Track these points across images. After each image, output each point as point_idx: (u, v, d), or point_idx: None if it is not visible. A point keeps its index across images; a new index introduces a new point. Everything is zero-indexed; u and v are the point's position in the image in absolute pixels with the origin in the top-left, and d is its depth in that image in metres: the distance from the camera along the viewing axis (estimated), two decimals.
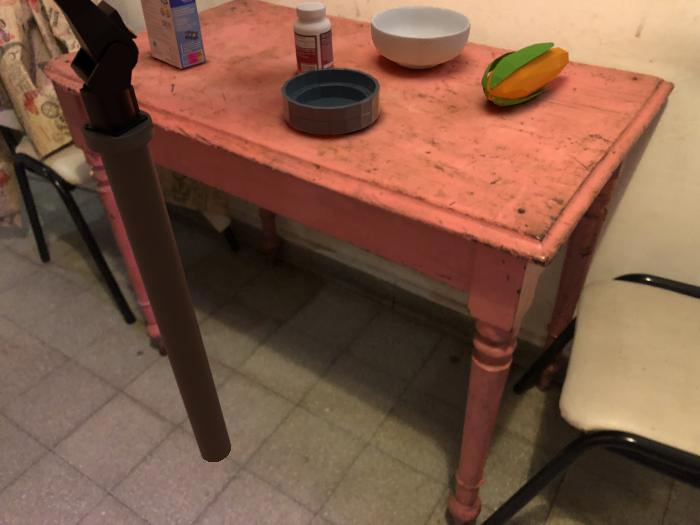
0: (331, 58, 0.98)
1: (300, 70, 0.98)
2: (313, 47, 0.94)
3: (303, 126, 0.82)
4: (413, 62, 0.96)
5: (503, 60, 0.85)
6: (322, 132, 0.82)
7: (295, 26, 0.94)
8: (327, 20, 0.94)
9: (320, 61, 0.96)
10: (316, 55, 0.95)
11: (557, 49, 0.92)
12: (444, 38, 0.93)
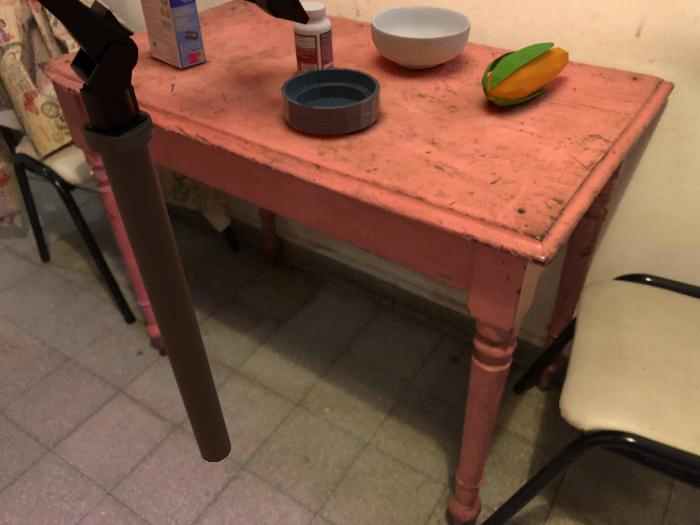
0: (331, 58, 0.98)
1: (300, 70, 0.98)
2: (313, 47, 0.94)
3: (303, 126, 0.82)
4: (413, 62, 0.96)
5: (503, 60, 0.85)
6: (322, 132, 0.82)
7: (295, 26, 0.94)
8: (327, 20, 0.94)
9: (320, 61, 0.96)
10: (316, 55, 0.95)
11: (557, 49, 0.92)
12: (444, 38, 0.93)
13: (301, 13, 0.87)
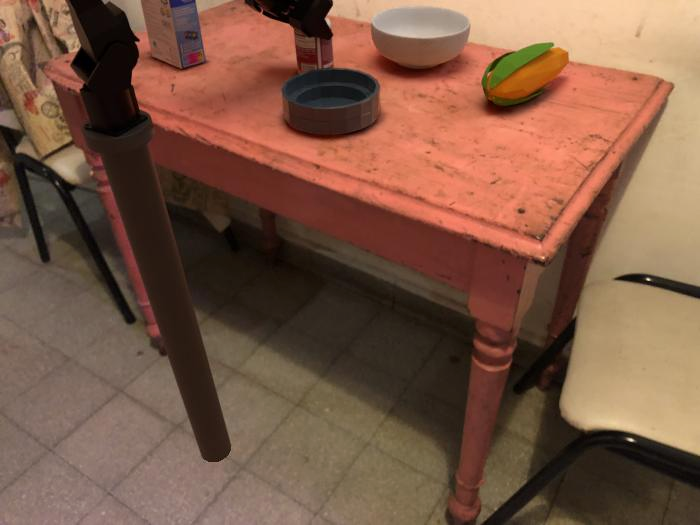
0: (331, 58, 0.98)
1: (300, 70, 0.98)
2: (313, 47, 0.94)
3: (303, 126, 0.82)
4: (413, 62, 0.96)
5: (503, 60, 0.85)
6: (322, 132, 0.82)
7: None
8: (327, 20, 0.94)
9: (320, 61, 0.96)
10: (316, 55, 0.95)
11: (557, 49, 0.91)
12: (444, 38, 0.93)
13: (326, 30, 0.92)
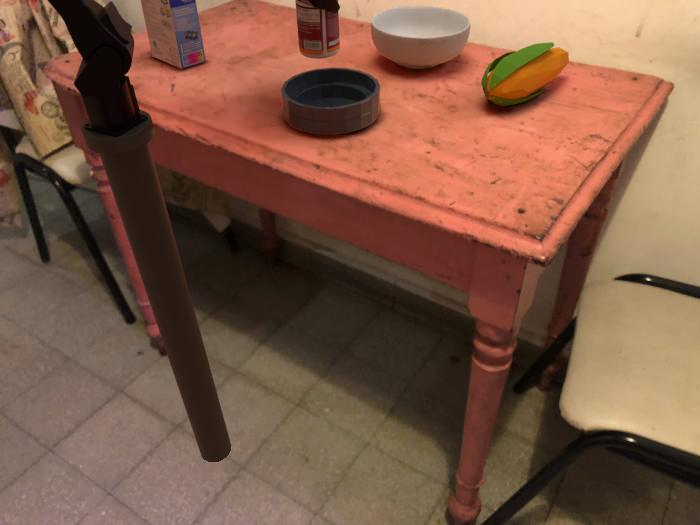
0: (337, 34, 0.87)
1: (302, 48, 0.87)
2: (317, 20, 0.84)
3: (303, 126, 0.82)
4: (413, 62, 0.96)
5: (503, 60, 0.85)
6: (322, 132, 0.82)
7: None
8: None
9: (325, 37, 0.85)
10: (321, 31, 0.85)
11: (557, 49, 0.92)
12: (444, 38, 0.93)
13: (332, 1, 0.82)
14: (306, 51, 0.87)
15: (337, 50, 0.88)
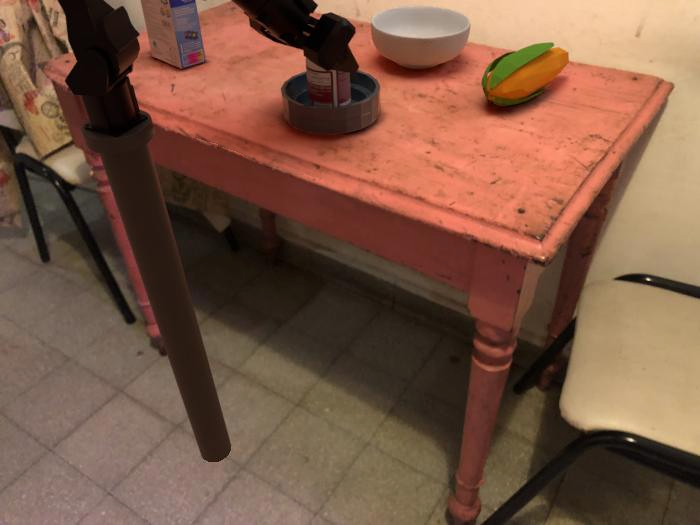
0: (348, 95, 0.85)
1: None
2: (328, 84, 0.82)
3: (303, 126, 0.82)
4: (413, 62, 0.96)
5: (503, 60, 0.85)
6: (322, 132, 0.82)
7: (308, 60, 0.81)
8: None
9: (336, 100, 0.83)
10: (332, 93, 0.83)
11: (557, 49, 0.91)
12: (444, 38, 0.93)
13: (351, 62, 0.78)
14: None
15: None
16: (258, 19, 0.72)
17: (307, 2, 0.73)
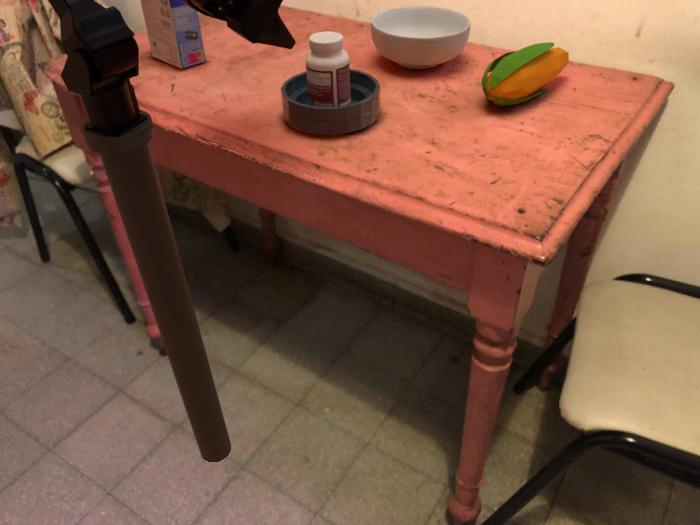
0: (348, 95, 0.85)
1: None
2: (328, 84, 0.82)
3: (303, 126, 0.82)
4: (413, 62, 0.96)
5: (503, 60, 0.85)
6: (322, 132, 0.82)
7: (308, 60, 0.81)
8: (344, 53, 0.82)
9: (336, 100, 0.83)
10: (332, 93, 0.83)
11: (557, 49, 0.92)
12: (444, 38, 0.93)
13: (285, 36, 0.71)
14: None
15: None
16: None
17: None
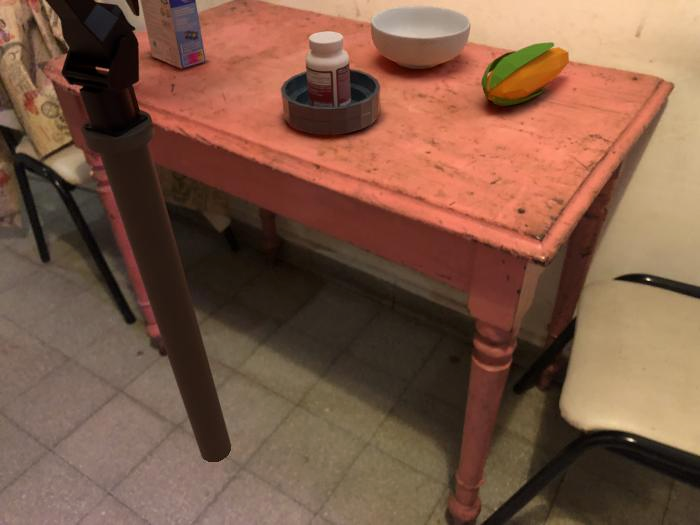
0: (348, 95, 0.85)
1: None
2: (328, 84, 0.82)
3: (303, 126, 0.82)
4: (413, 62, 0.96)
5: (503, 60, 0.85)
6: (322, 132, 0.82)
7: (308, 60, 0.81)
8: (344, 53, 0.82)
9: (336, 100, 0.83)
10: (332, 93, 0.83)
11: (557, 49, 0.92)
12: (444, 38, 0.93)
13: None
14: None
15: None
16: None
17: None
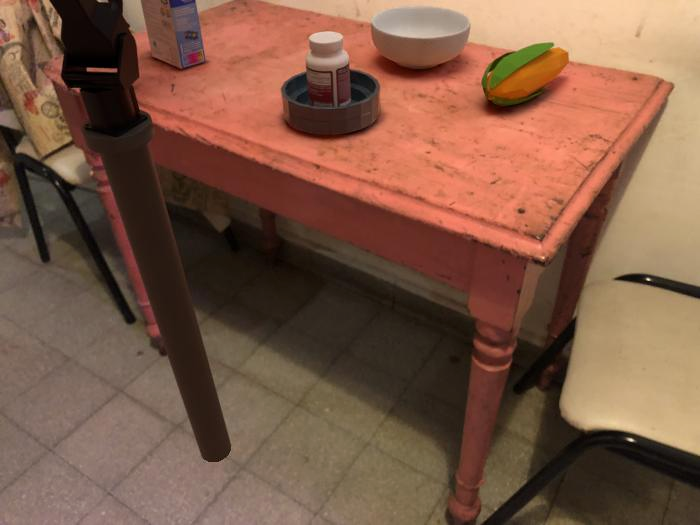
0: (348, 95, 0.85)
1: None
2: (328, 84, 0.82)
3: (303, 126, 0.82)
4: (413, 62, 0.96)
5: (503, 60, 0.85)
6: (322, 132, 0.82)
7: (308, 60, 0.81)
8: (344, 53, 0.82)
9: (336, 100, 0.83)
10: (332, 93, 0.83)
11: (557, 49, 0.92)
12: (444, 38, 0.93)
13: None
14: None
15: None
16: None
17: None
